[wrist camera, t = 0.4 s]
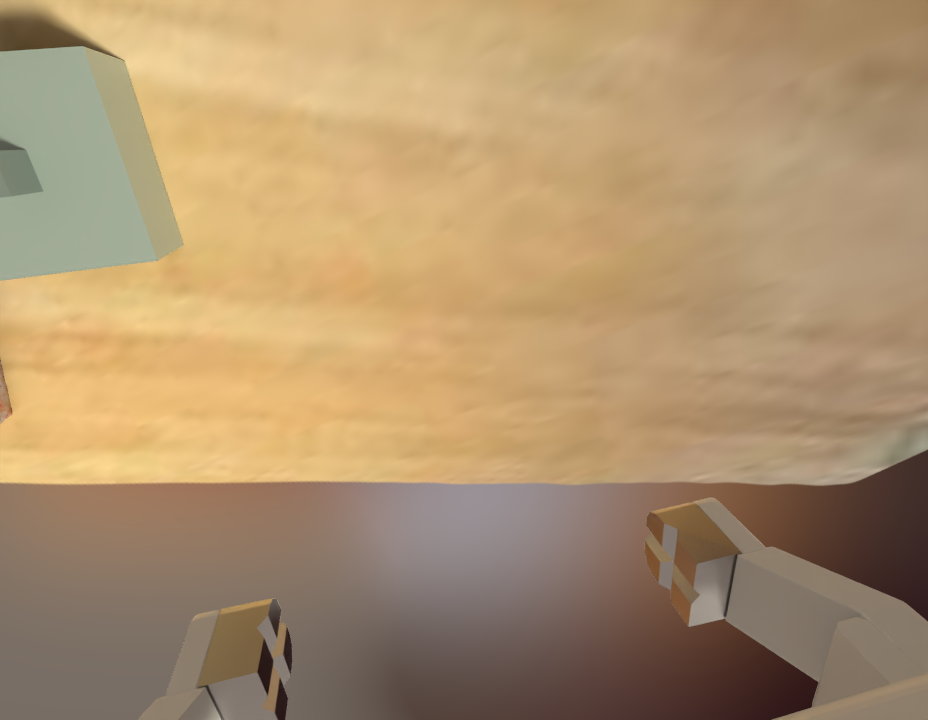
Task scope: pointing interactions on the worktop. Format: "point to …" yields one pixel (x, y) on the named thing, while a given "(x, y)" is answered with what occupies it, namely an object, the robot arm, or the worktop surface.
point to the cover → (76, 167)
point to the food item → (4, 398)
